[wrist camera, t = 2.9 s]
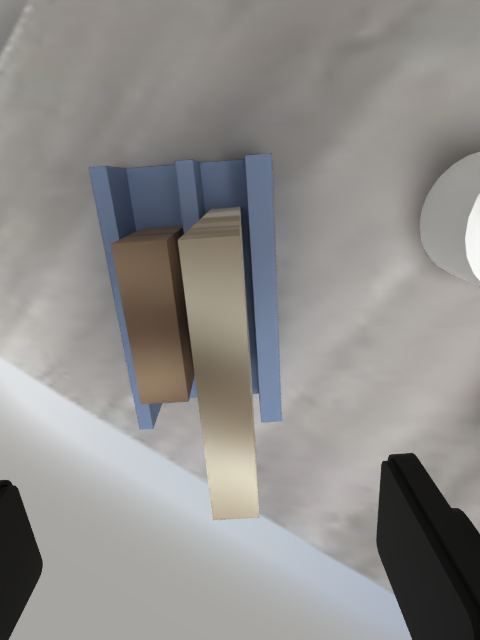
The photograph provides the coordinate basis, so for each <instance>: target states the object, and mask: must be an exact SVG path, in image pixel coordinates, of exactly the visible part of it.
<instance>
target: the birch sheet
mask: <svg viewBox="0 0 480 640" xmlns="http://www.w3.org/2000/svg"><path fill="white" fill-rule="evenodd" d="M178 246H179V254H180V262H181V270H182V278H183V286H184V294H185V302H186V309H187V317H188V325H189V333H190V341H191V349H192V357H193V365H194V373H195V381H196V388H197V396H198V404H199V412H200V420H201V428H202V436H203V444H204V452H205V460H206V467H207V475H208V483H209V491H210V499H211V507H212V514H213V520H225V519H244V518H259V502H258V484H257V466H256V448H255V430H254V412H253V394H252V376H251V358H250V344H249V329H248V314H247V299H246V285H245V270H244V255H243V241H242V226H241V211H240V207H227V208H214V209H211V210H210V211H208V212H207V213H206V214H205V215H204V216H203V217H202V218H201V219H200V220H199V221H198V222H197V223H196V224H194V225H193V226H192V227H191V228H190V229H189V230H188V231H187V232H186V233H185V234H184V235H183V236H182V237H180V238H179V239H178Z"/></svg>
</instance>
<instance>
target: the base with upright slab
mask: <svg viewBox="0 0 480 640" xmlns="http://www.w3.org/2000/svg"><path fill="white" fill-rule="evenodd" d="M419 228H420V236H421V243H422V245H423V247H424V249H425V251H426V254H427V256H428V257H429V258H430V259H431V260H432V261H433V262H434V263H435V265H436V266H437V267H439V268H441V269H443V270H444V271H446V272H448V273H450V274H452V275H454V276H456V277H459V278H461V279H463V280H466V281H468V282H470V283H472V284H475V285H477V286H479V287H480V152H477V153H474V154H470V155H468V156H466V157H464V158H463V159H461V160H459V161H458V162H456V163H454V164H453V165H451V166H450V167H449V168H448V169H447V170H446V171H445V172H444V173H443V174H442V175H441V176H440V177H439V178H438V179H437V181H436V182H435V184H434V185H433V187H432V188H431V190H430V191H429V193H428V194H427V197H426V200H425V202H424V205H423V207H422V210H421V217H420V225H419Z"/></svg>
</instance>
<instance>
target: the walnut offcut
mask: <svg viewBox="0 0 480 640" xmlns="http://www.w3.org/2000/svg"><path fill="white" fill-rule="evenodd" d="M183 235H184V230H183V226H170V227H156V228H143V229H141V230H139V231H136V232H134V233H132V234H130V235H128V236H126V237H124V238H122V239H120V240H118V241H116V242H113V243H111V248H112V253H113V258H114V264H115V269H116V274H117V279H118V285H119V290H120V295H121V301H122V306H123V311H124V317H125V322H126V327H127V333H128V338H129V343H130V349H131V354H132V359H133V365H134V370H135V375H136V381H137V386H138V391H139V397H140V402H141V404H155V403H172V402H188V401H189V398H190V393H191V389H192V385H193V381H194V376H195V373H194V365H193V357H192V349H191V341H190V333H189V325H188V317H187V309H186V302H185V294H184V286H183V278H182V270H181V262H180V254H179V246H178V239H179V238H180V237H182V236H183Z"/></svg>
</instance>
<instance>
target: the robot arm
mask: <svg viewBox="0 0 480 640" xmlns="http://www.w3.org/2000/svg"><path fill="white" fill-rule="evenodd" d="M376 541H377V548H378V552H379V555H380V558H381V561H382V563H383V566H384V568H385V571H386V573H387V576H388V579H389V581H390V584H391V586H392V589H393V591H394V594H395V597H396V599H397V601H398V604H399V607H400V609H401V612H402V614H403V617H404V620H405V622H406V625H407V627H408V630H409V632H410V635H411V637H412V640H480V534H479V532H478V531H477V529H476V528H475V527H474V525H473V524H472V522H471V521H470V520H469V518H468V517H467V516H466V514H465V513H464V512H463V511H462V510H460V509H459V508H451V507H450V506H449V504H448V503H447V501H446V500H445V498H444V497H443V495H442V494H441V492H440V491H439V489H438V488H437V486H436V485H435V483H434V482H433V480H432V479H431V477H430V476H429V474H428V473H427V471H426V470H425V468H424V467H423V465H422V464H421V462H420V461H419V459H418V458H417V457H416V455H415V454H413V453H406V454H391V455H389V457H388V461H383V462H382V465H381V479H380V493H379V508H378V523H377V538H376ZM42 564H43V563H42V558H41V555H40V552H39V549H38V546H37V543H36V540H35V537H34V534H33V532H32V528H31V525H30V522H29V520H28V517H27V514H26V511H25V508H24V505H23V502H22V499H21V496H20V493H19V490H18V488H17V487H16V486H13V485H12V483H11V482H10V481H9V480H0V640H9V637H10V636H11V634H12V632H13V629H14V628H15V626H16V623H17V622H18V620H19V618H20V616H21V614H22V612H23V610H24V608H25V606H26V604H27V602H28V600H29V598H30V596H31V594H32V592H33V590H34V588H35V586H36V584H37V582H38V580H39V578H40V575H41V572H42V566H43V565H42Z"/></svg>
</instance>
